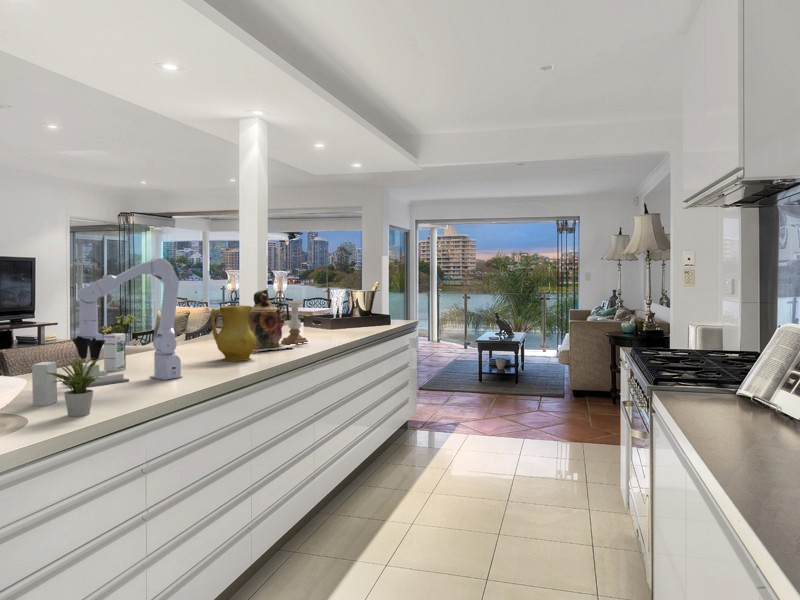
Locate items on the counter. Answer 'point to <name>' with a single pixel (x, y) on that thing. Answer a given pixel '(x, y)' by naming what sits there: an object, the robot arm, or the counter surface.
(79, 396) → the house plant
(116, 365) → the syrup box
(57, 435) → the counter surface
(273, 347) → the cookie jar
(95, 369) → the block
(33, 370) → the skincare box
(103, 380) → the rail board
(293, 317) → the candle holder
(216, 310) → the pitcher
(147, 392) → the counter surface
